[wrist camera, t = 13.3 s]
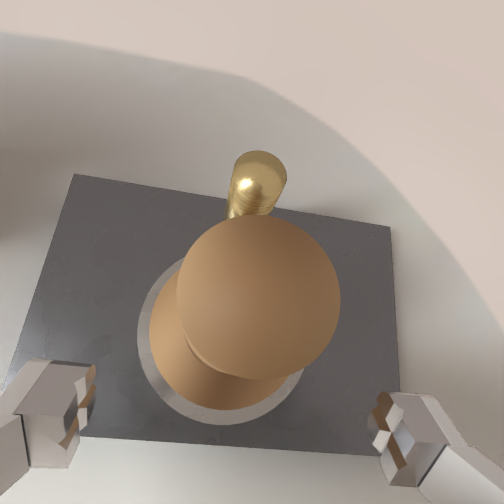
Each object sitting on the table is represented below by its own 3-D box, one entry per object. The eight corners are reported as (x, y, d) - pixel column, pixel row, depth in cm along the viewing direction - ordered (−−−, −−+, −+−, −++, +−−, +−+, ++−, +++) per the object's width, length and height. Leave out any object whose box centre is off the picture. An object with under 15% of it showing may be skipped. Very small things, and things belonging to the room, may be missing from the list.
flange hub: (137, 400, 14) (65, 447, 6) (166, 250, 16) (142, 143, 8) (292, 413, 15) (405, 468, 7) (299, 269, 17) (388, 188, 9)
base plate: (8, 423, 14) (-13, 430, 13) (83, 188, 18) (73, 172, 17) (386, 450, 17) (405, 458, 15) (376, 236, 21) (391, 226, 19)
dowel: (217, 249, 17) (230, 192, 11) (222, 215, 18) (236, 146, 12) (255, 254, 17) (285, 202, 12) (258, 220, 18) (288, 155, 12)
